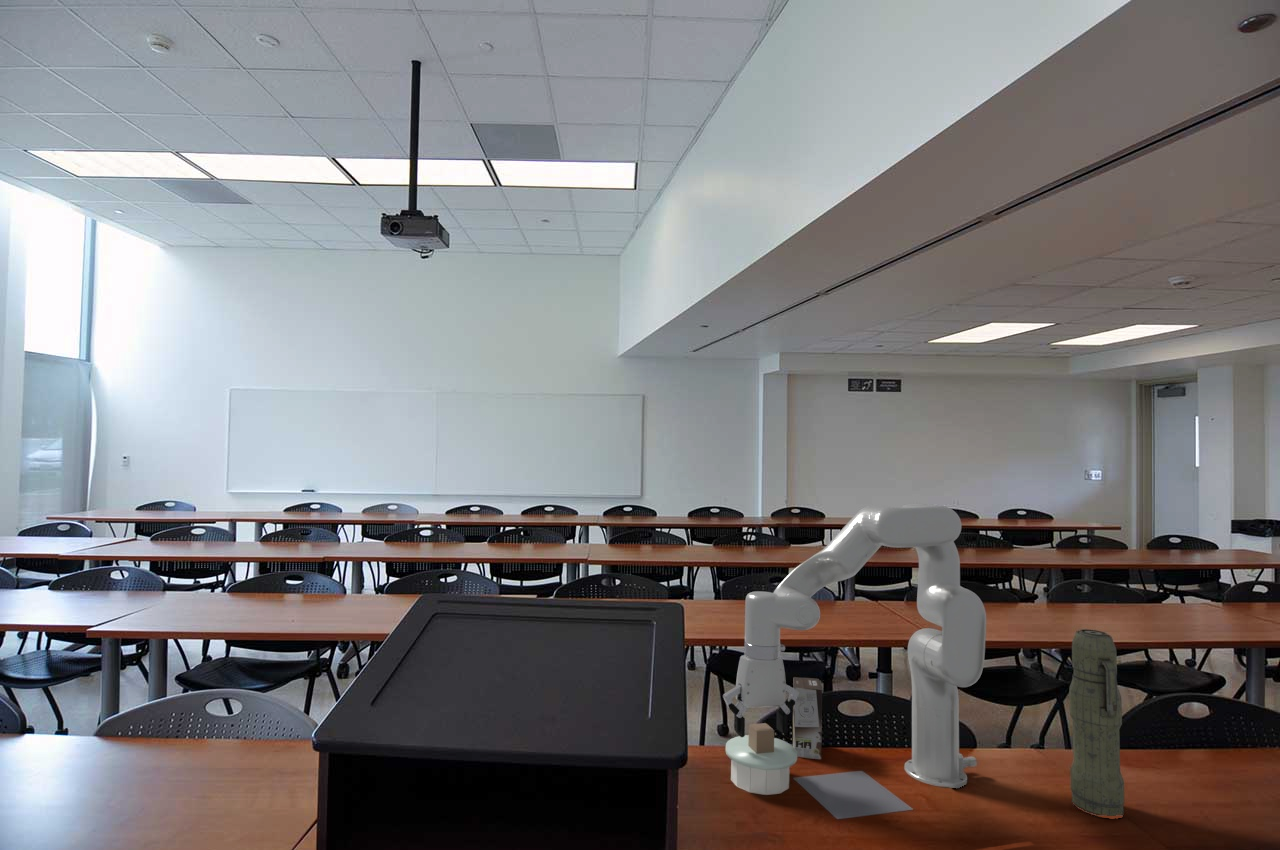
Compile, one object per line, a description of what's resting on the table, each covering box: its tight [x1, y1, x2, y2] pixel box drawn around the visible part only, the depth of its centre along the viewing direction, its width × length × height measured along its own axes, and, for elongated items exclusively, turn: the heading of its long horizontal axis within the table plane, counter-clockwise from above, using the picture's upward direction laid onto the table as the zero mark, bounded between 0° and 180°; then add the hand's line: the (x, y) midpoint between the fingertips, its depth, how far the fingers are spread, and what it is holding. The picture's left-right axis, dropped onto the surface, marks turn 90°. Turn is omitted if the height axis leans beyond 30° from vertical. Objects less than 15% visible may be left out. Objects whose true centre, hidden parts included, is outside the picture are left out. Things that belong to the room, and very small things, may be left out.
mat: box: [792, 770, 914, 820], centre depth 133 cm, size 17×17×1 cm
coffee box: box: [792, 676, 823, 760], centre depth 155 cm, size 9×6×16 cm
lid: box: [725, 722, 798, 770], centre depth 138 cm, size 15×15×6 cm
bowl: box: [730, 759, 790, 796], centre depth 138 cm, size 12×12×6 cm
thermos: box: [1068, 628, 1125, 816], centre depth 133 cm, size 9×12×35 cm
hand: (760, 733), depth 138 cm, fingers open, 9 cm apart
